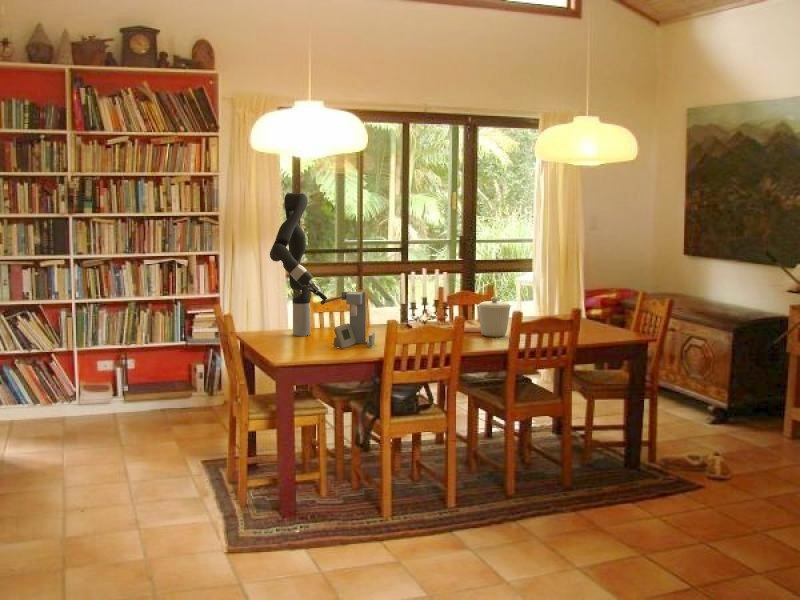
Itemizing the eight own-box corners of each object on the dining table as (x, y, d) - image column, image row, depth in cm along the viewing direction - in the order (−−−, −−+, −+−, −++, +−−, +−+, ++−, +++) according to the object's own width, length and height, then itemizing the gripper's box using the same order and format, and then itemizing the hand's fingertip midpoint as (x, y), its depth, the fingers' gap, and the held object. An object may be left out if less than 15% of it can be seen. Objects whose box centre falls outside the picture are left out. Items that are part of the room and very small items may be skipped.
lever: (322, 304, 436) (320, 300, 436) (347, 297, 435) (346, 293, 434) (321, 305, 434) (319, 300, 434) (347, 298, 432) (345, 293, 432)
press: (342, 342, 440) (342, 291, 436) (375, 343, 438) (375, 292, 435) (337, 347, 426) (337, 294, 423) (371, 347, 425) (372, 295, 422)
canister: (499, 339, 452) (500, 299, 449) (470, 335, 462) (471, 296, 460) (516, 335, 466) (517, 296, 463) (488, 331, 477) (488, 293, 474)
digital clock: (342, 349, 419) (342, 328, 418) (327, 348, 424) (327, 326, 422) (361, 345, 433) (361, 324, 432) (346, 343, 438) (346, 322, 436)
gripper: (303, 271, 427) (328, 295, 427) (308, 269, 440) (333, 292, 440) (293, 282, 428) (318, 306, 428) (298, 279, 441) (323, 303, 442)
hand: (326, 299), depth 434 cm, fingers closed
